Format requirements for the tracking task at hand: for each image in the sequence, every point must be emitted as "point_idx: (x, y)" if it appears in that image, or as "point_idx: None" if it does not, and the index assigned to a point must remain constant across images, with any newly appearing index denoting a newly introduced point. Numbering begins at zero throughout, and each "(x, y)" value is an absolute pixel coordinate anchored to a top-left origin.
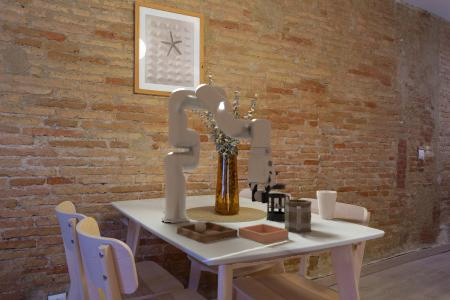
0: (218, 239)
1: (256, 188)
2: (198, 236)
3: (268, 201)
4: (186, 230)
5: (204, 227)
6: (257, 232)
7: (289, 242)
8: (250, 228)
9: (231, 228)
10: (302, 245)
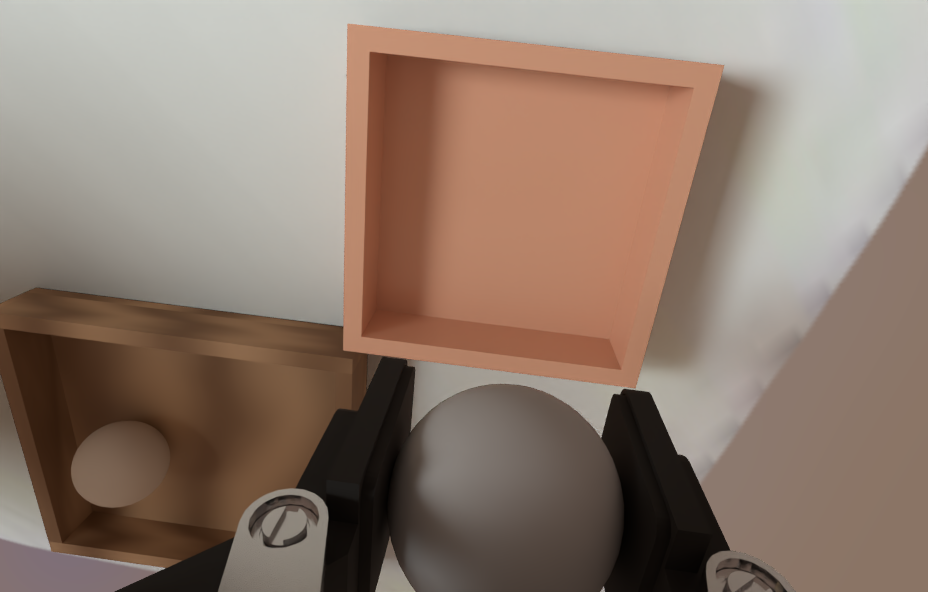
0: None
1: (324, 576)
2: None
3: (650, 409)
4: (165, 565)
5: (158, 466)
6: (382, 132)
7: (743, 151)
8: (368, 231)
9: (290, 362)
10: (875, 150)
